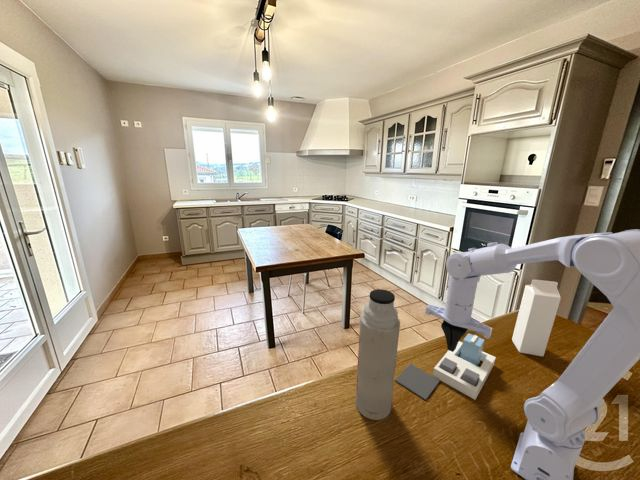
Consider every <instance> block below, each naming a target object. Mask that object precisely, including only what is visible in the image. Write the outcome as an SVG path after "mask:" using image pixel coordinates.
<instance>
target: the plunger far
mask: <svg viewBox="0 0 640 480" xmlns="http://www.w3.org/2000/svg"><path fill="white" fill-rule="evenodd" d="M456 367H457V363H455V362H453V361H451V360H449V359H447V358H444V360H443V361H442V362H441V364H440V368H441V369H443V370H445V371H447V372H449V373H451V374H454V372H455V371H456Z"/></svg>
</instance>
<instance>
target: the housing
mask: <svg viewBox="0 0 640 480" xmlns="http://www.w3.org/2000/svg"><path fill="white" fill-rule="evenodd" d="M462 344H463V341H460V340H459V342H458V344H457V347H456V349H455V350H454V352H452V351H450V350H448V349H447V351H446V353H444V356H443V357H442V358H441V359H440V360H439V362H437V364H435V366H434V367H433V370H432V371H433V372H432V376H433V377H435V378H437V379H439V380H440V382H442V383H444V384H446V385H448V386H449V387H451V388H453V389H455V390H457V391H458V392H460V393H462V394H464V395H465V396H468V397H469V398H471V399H473V400H474V401H475V400H476V399H477V397H478V396H479V394H480V392H481V390H482V388H483V386H484V384H485V382H486V381H487V379H488V377H489V375H490V373H491V371H492V369H493V367H494V366H495V362H496V358H497V357H496V356H494V355H492V354H489V353H487V352H485V351H483V350H482V354H481V358H480V362H482V364H481V365H480V366H479V365H478V366H476V365H474V364H472V363H470V362H468V361H466V360H464V359H462V358H460V354H461V349H462ZM444 358H447V359H449V360H451V361H453V362H455V363H457V367H456V371H455V372H454V374H451V373H449V372H447V371H445V370H443V369H441V368H440V364H441V362H442V361H443V360H444ZM466 368H467V369H469V370H471V371H473V372H475V373H477V374H479V375H480V376H479V380H478V384H477V386H476V387H475V386H473V385H471V384H469V383H467V382H466V381H464V380H462V379H461V378H462V374H463V373H464V371H465V369H466Z"/></svg>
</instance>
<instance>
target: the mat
mask: <svg viewBox="0 0 640 480" xmlns="http://www.w3.org/2000/svg"><path fill="white" fill-rule="evenodd" d="M394 381H395V382H396V383H398V385H401V386H402V387H404V388H405V389H407V391H410V392H412V393H413V394H415V395H416V396H418V397H419V398H421V399H422V400H423V401H425V402H426V401H427V399H428V398H429V397H430V395H431V394H432V393H433V391H434V390H435V389H436V387H437V386H438V385H439V383H440V382H441V380H439V379H437V378H435V377H434V376H433V374H430V373H428V372H427V371H424V370H422V369H421V368H419V367H418V366H415V365H414V364H412V363H409V364H408V365H407V366H406V368H405V369H404V370H402V372H401V373H399V375H398V376H397V377H396V378H394Z"/></svg>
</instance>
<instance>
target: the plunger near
mask: <svg viewBox="0 0 640 480" xmlns="http://www.w3.org/2000/svg"><path fill="white" fill-rule="evenodd" d="M479 376H480V375H479V374H477V373H475V372H473V371H471V370H469V369H467V368H466V369H465V371H464V373H463V374H462V378H461V379H462V380H464V381H466V382H467V383H469V384H471V385H473V386H475V387H476V386H477V384H478V380H479Z"/></svg>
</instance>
